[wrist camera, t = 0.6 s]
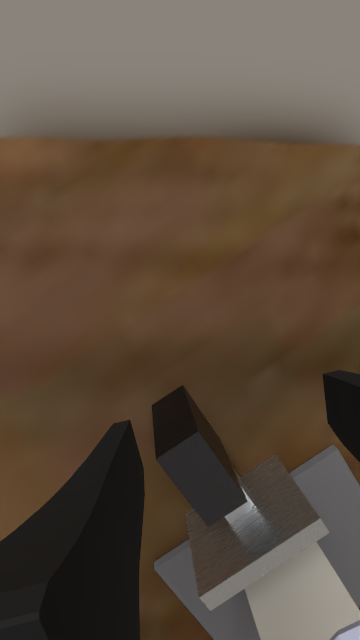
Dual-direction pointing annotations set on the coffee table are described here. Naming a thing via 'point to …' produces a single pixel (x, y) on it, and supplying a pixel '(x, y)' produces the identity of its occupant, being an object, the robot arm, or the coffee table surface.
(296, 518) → the mounted block
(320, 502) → the mat
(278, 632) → the cream rectangular block
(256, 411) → the coffee table surface
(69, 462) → the coffee table surface
